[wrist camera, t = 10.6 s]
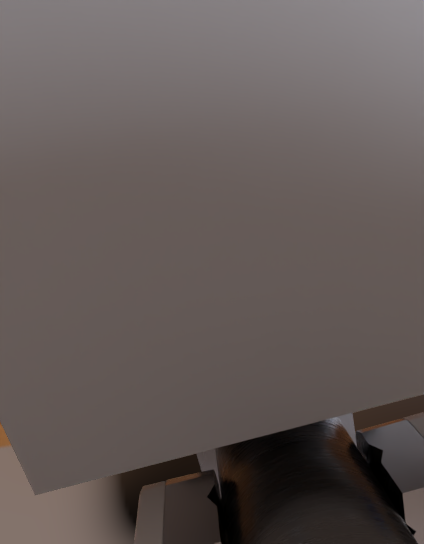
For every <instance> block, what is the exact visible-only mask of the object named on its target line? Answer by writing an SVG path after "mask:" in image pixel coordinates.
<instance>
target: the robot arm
mask: <svg viewBox="0 0 424 544" xmlns="http://www.w3.org/2000/svg"><path fill="white" fill-rule="evenodd" d="M356 444H357V448H358V449H359V451H360V452H361V454H362V456H363V457H364V459H365V461H366V462H367V464H368V465H369V467H370V468H371V470H372V472H373V473H374V475H375V476H376V478H377V479H378V481H379V483H380V484H381V486H382V487H383V489H384V491H385V492H386V494H387V495H388V497H389V498H390V500H391V502H392V503H393V505H394V506H395V508H396V509H397V511H398V513H399V514H400V516H401V517H402V519H403V521H404V522H405V524H406V525H407V527H408V528H409V530H410V532H411V533H412V535H413V536H414V538H415V539H416V541H417V543H418V544H424V412H423V413H419V414H416V415H412V416H409V417H405V418H403V419H399V420H395V421H391V422H388V423H384V424H380V425H377V426H373V427H370V428H366V429H362V430H358V431H356ZM134 544H227V538H226V531H225V523H224V515H223V507H222V499H221V496H220V489H219V483H218V480H217V476H216V473H215V471H214V469H212V470H208V471H203V472H199V473H195V474H191V475H187V476H183V477H178V478H174V479H170V480H167V481H164V482H160V483H155V484H151V485H147V486H143V488H142V490H141V492H140V497H139V506H138V514H137V523H136V531H135V540H134Z"/></svg>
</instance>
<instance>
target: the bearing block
mask: <svg viewBox="0 0 424 544" xmlns="http://www.w3.org/2000/svg"><path fill="white" fill-rule="evenodd" d="M423 394H424V0H0V422H1V424H2V426H3V428H4V430H5V433H6V435H7V437H8V439H9V441H10V443H11V445H12V447H13V449H14V451H15V453H16V456H17V458H18V460H19V462H20V464H21V466H22V468H23V470H24V472H25V475H26V477H27V479H28V481H29V483H30V485H31V487H32V489H33V491H34V494H35V495H38V494H42V493H45V492H49V491H53V490H57V489H61V488H65V487H69V486H72V485H76V484H80V483H84V482H88V481H91V480H96V479H99V478H103V477H107V476H111V475H115V474H119V473H123V472H126V471H130V470H134V469H138V468H141V467H146V466H149V465H153V464H157V463H161V462H165V461H169V460H172V459H176V458H180V457H184V456H188V455H192V454H196V453H199V452H203V451H207V450H211V449H215V448H219V447H223V446H226V445H230V444H234V443H238V442H242V441H246V440H249V439H253V438H257V437H261V436H265V435H269V434H273V433H276V432H280V431H284V430H288V429H292V428H296V427H299V426H303V425H307V424H311V423H315V422H319V421H323V420H326V419H330V418H334V417H338V416H342V415H346V414H349V413H353V412H357V411H361V410H365V409H369V408H373V407H376V406H380V405H384V404H388V403H392V402H395V401H400V400H403V399H407V398H411V397H415V396H419V395H423Z"/></svg>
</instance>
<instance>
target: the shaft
mask: <svg viewBox="0 0 424 544" xmlns="http://www.w3.org/2000/svg"><path fill="white" fill-rule="evenodd" d="M196 454H197V457H198V460H199V463H200V467H201V470H202V472H203V471H208V470H212V469H214V471H215V473H216V476H217V480H218V483H219V489H220V496H221V499H222V507H223V515H224V523H225V531H226V538H227V544H418V543H417V541H416V539H415V538H414V536H413V535H412V533H411V532H410V530H409V528H408V527H407V525H406V524H405V522H404V521H403V519H402V517H401V516H400V514H399V513H398V511H397V509H396V508H395V506H394V505H393V503H392V502H391V500H390V498H389V497H388V495H387V494H386V492H385V491H384V489H383V487H382V486H381V484H380V483H379V481H378V479H377V478H376V476H375V475H374V473H373V472H372V470H371V468H370V467H369V465H368V464H367V462H366V461H365V459H364V457H363V456H362V454H361V453H360V451H359V449H358V448H357V444H356V435H355V429H354V422H353V416H352V413H349V414H346V415H342V416H338V417H334V418H330V419H326V420H323V421H319V422H315V423H311V424H307V425H303V426H299V427H296V428H292V429H288V430H284V431H280V432H276V433H273V434H269V435H265V436H261V437H257V438H253V439H249V440H246V441H242V442H238V443H234V444H230V445H226V446H223V447H219V448H215V449H211V450H207V451H203V452H199V453H196Z"/></svg>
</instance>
